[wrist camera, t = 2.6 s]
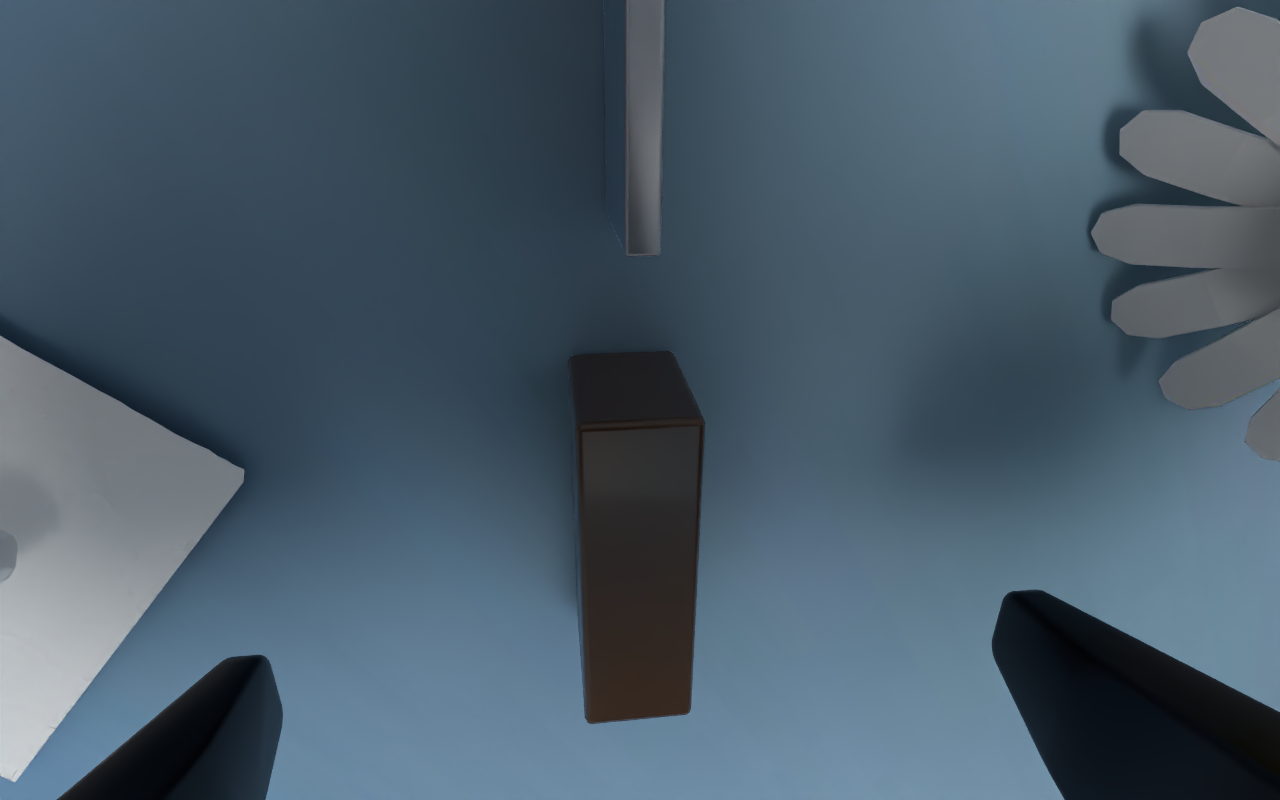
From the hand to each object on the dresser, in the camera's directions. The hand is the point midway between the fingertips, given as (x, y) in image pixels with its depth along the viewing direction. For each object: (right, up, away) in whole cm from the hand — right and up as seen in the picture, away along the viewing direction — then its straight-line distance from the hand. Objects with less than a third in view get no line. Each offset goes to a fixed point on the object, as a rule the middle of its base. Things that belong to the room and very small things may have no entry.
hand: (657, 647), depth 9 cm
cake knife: (0, +5, +2) cm, 5 cm away
